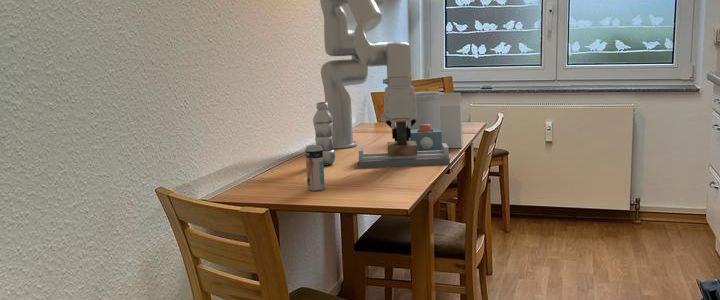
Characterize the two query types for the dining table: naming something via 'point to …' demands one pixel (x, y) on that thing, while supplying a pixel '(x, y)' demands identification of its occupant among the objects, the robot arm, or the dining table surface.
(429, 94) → the utensil holder
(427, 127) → the button
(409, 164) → the rail board
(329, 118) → the plastic bottle
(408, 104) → the robot arm
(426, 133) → the cabinet
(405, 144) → the carriage
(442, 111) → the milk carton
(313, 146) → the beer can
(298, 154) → the dining table surface
